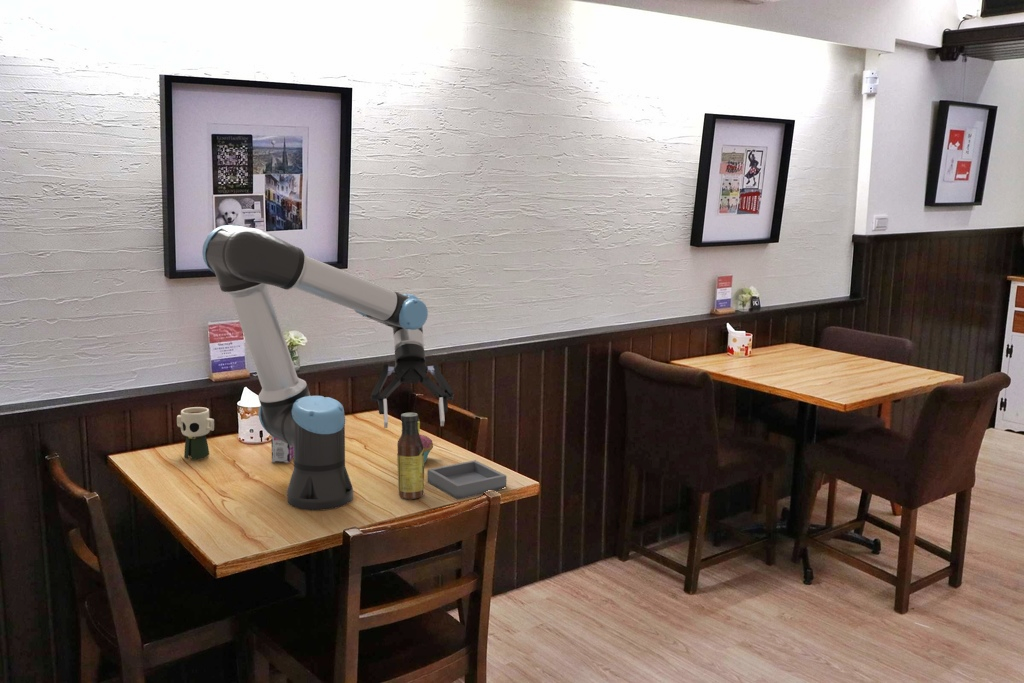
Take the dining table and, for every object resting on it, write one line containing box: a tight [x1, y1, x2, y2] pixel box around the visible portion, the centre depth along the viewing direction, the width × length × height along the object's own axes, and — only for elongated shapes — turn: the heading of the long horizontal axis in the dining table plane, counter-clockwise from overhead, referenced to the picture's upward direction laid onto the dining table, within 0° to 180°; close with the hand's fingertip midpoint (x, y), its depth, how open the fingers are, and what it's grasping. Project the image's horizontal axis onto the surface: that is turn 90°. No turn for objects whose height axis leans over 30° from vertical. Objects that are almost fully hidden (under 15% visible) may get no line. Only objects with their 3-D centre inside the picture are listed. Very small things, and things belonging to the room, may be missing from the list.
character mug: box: [176, 406, 215, 461], centre depth 241 cm, size 11×7×13 cm, turn 75°
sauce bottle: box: [396, 412, 425, 500], centre depth 216 cm, size 6×6×20 cm
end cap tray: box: [427, 459, 508, 500], centre depth 226 cm, size 14×14×3 cm
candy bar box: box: [270, 435, 294, 464], centre depth 243 cm, size 11×5×16 cm, turn 2°
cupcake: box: [418, 419, 434, 463], centre depth 243 cm, size 9×8×12 cm
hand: (414, 424), depth 222 cm, fingers open, 13 cm apart
